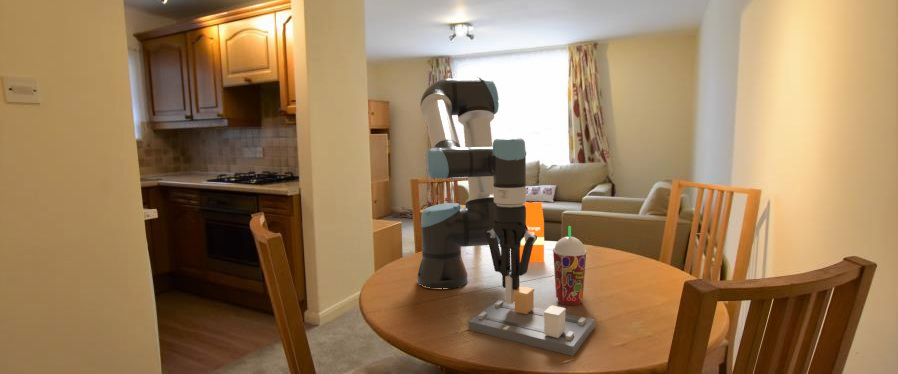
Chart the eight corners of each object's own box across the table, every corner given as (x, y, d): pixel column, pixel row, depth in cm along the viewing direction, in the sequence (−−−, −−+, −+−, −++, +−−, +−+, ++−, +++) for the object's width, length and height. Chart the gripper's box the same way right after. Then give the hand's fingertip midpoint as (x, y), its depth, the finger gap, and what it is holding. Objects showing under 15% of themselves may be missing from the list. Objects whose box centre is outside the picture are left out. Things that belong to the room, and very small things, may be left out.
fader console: (468, 329, 101) (468, 317, 101) (499, 307, 113) (498, 296, 113) (572, 356, 88) (573, 342, 87) (594, 327, 100) (594, 315, 100)
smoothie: (580, 310, 110) (581, 230, 108) (548, 304, 115) (548, 227, 112) (589, 299, 117) (590, 224, 115) (558, 293, 122) (558, 221, 119)
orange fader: (514, 311, 105) (514, 291, 104) (521, 305, 108) (521, 286, 108) (526, 314, 103) (526, 293, 102) (534, 308, 106) (534, 288, 106)
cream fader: (543, 334, 92) (543, 312, 92) (551, 327, 96) (551, 305, 95) (558, 338, 90) (558, 315, 90) (565, 330, 94) (565, 308, 93)
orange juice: (544, 261, 152) (544, 204, 150) (518, 262, 152) (517, 204, 150) (539, 255, 160) (539, 200, 158) (515, 256, 160) (514, 201, 158)
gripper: (477, 204, 105) (479, 301, 107) (528, 208, 98) (529, 312, 100) (493, 200, 111) (494, 292, 114) (542, 203, 104) (542, 301, 106)
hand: (511, 301), depth 107 cm, fingers closed
